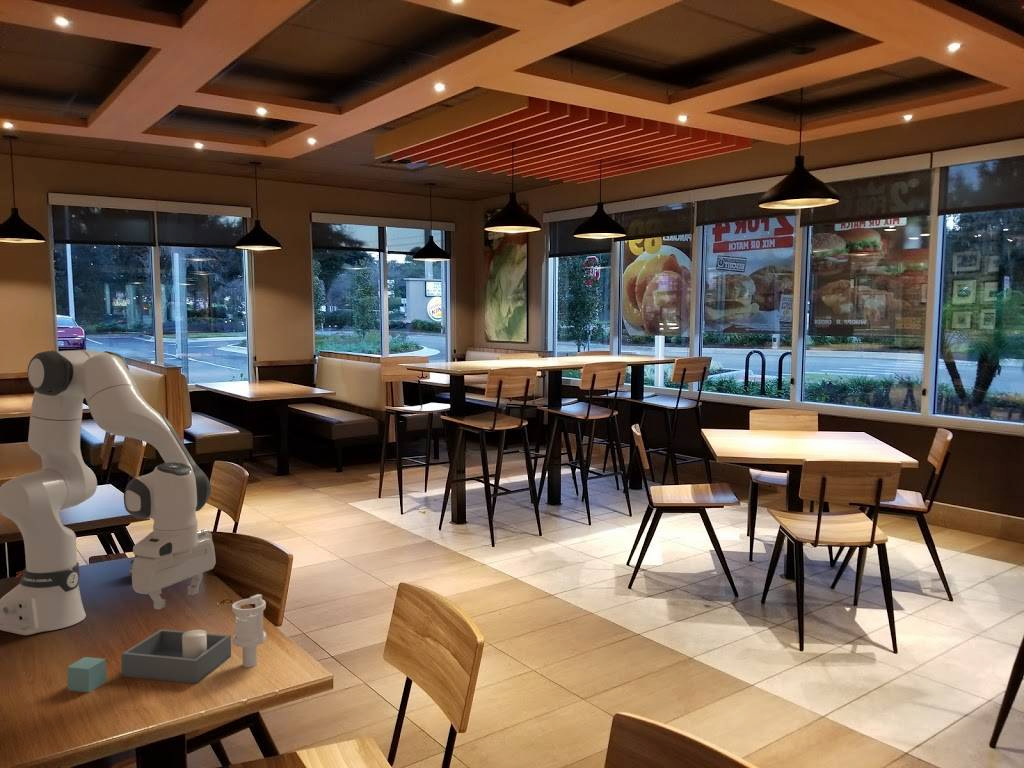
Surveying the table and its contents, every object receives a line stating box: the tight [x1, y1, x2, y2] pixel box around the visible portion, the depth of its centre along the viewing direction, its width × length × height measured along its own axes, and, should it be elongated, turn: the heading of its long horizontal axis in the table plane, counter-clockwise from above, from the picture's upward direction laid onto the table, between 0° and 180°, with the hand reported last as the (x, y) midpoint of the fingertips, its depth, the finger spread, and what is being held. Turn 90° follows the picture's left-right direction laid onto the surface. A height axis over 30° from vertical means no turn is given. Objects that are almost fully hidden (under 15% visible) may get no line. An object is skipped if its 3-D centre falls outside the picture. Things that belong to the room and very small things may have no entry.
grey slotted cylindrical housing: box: [231, 593, 267, 668], centre depth 171 cm, size 7×7×15 cm
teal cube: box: [66, 656, 107, 693], centre depth 161 cm, size 5×5×5 cm
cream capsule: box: [182, 629, 208, 659], centre depth 170 cm, size 5×5×7 cm
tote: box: [121, 628, 232, 684], centre depth 170 cm, size 18×14×5 cm
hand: (176, 600), depth 167 cm, fingers open, 8 cm apart
